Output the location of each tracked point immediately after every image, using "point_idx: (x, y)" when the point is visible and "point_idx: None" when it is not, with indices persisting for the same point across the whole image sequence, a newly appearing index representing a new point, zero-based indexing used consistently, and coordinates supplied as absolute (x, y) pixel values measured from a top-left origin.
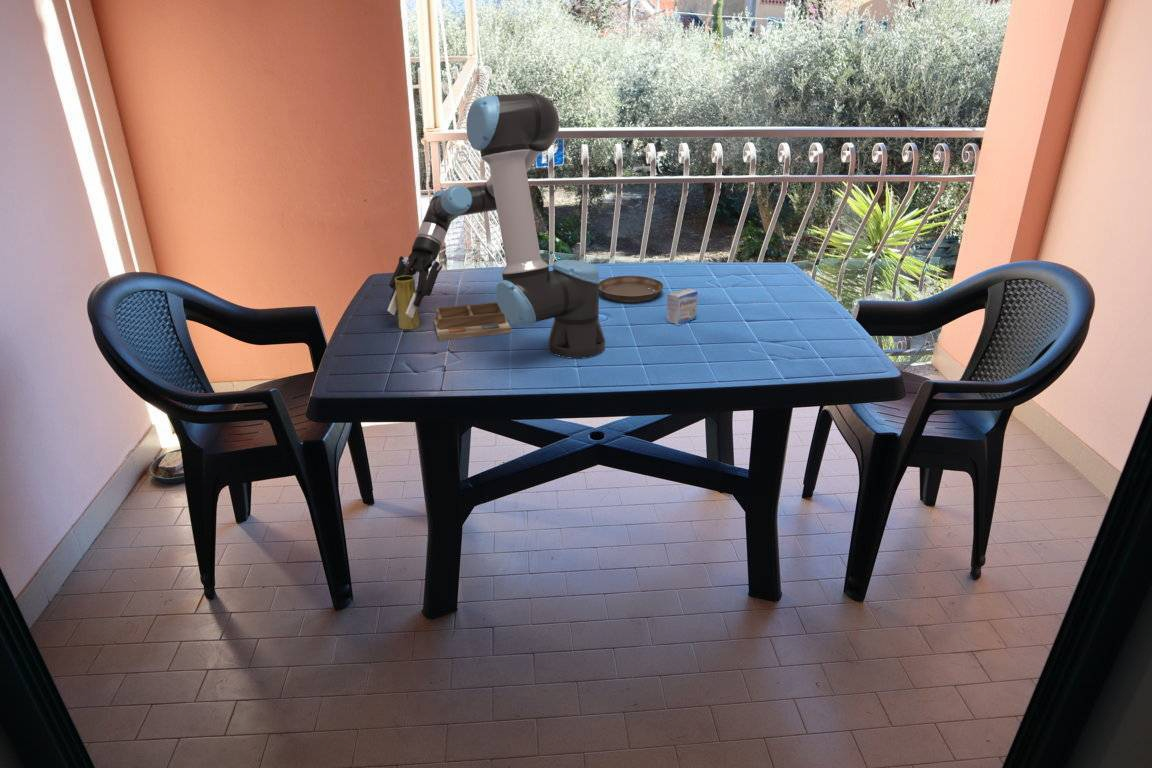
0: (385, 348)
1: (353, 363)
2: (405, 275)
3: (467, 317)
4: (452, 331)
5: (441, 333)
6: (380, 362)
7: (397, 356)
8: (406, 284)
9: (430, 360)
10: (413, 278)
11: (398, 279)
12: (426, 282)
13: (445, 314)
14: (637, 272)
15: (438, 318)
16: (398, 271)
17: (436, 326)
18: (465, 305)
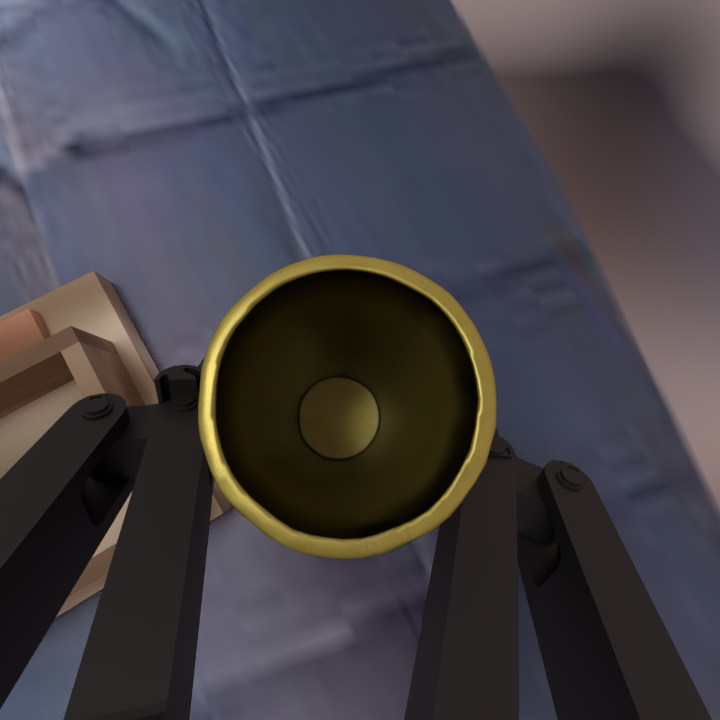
0: (318, 150)
1: (366, 9)
2: (401, 531)
3: None
4: (17, 317)
5: (84, 296)
6: (269, 32)
7: (228, 91)
8: (272, 304)
9: (69, 82)
10: (199, 431)
11: (464, 427)
12: (42, 500)
13: None
14: None
15: (86, 351)
16: (639, 711)
17: (149, 382)
18: None
